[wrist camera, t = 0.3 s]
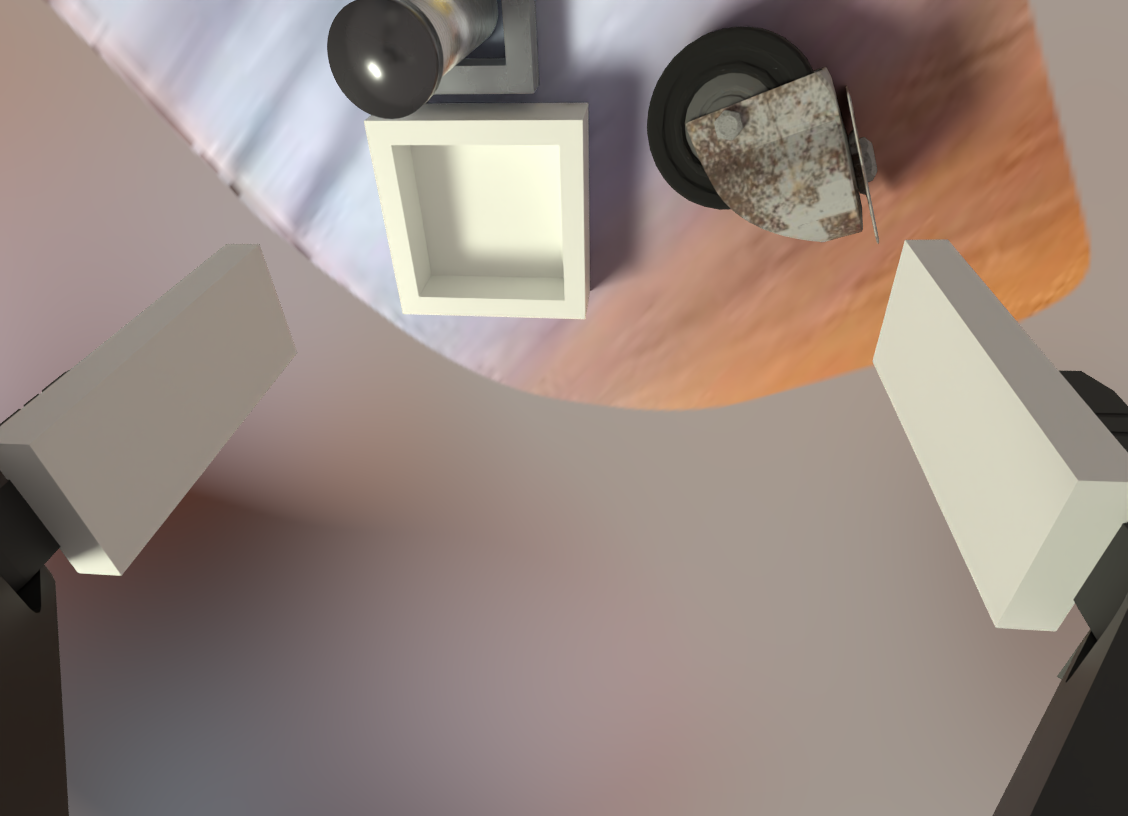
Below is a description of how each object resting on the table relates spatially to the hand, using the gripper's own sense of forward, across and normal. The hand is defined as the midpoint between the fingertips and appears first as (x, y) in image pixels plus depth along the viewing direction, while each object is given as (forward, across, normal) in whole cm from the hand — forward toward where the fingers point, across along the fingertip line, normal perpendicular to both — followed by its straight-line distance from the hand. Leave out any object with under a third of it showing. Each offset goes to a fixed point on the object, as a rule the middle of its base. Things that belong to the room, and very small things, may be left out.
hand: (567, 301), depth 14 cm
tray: (+26, -7, -7) cm, 28 cm away
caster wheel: (+26, +7, -4) cm, 27 cm away
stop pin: (+26, -8, +3) cm, 27 cm away
